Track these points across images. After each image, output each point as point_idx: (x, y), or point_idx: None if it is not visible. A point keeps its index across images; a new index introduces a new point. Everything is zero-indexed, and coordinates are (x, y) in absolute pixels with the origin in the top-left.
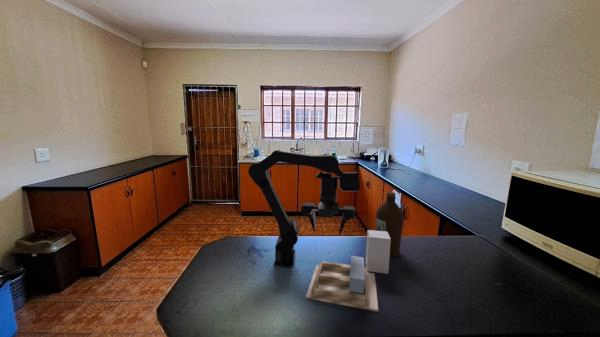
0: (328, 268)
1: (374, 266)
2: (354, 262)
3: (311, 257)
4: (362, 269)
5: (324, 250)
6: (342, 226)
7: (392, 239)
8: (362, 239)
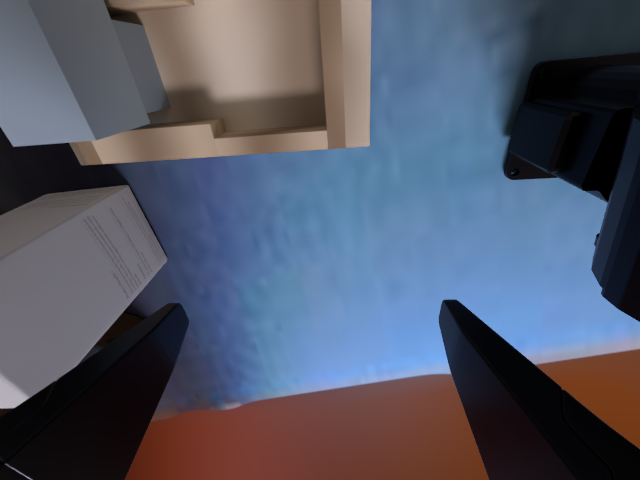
0: (296, 127)
1: (77, 198)
2: (8, 20)
3: (409, 222)
4: None
5: (356, 294)
6: (59, 387)
7: None
8: (235, 389)
